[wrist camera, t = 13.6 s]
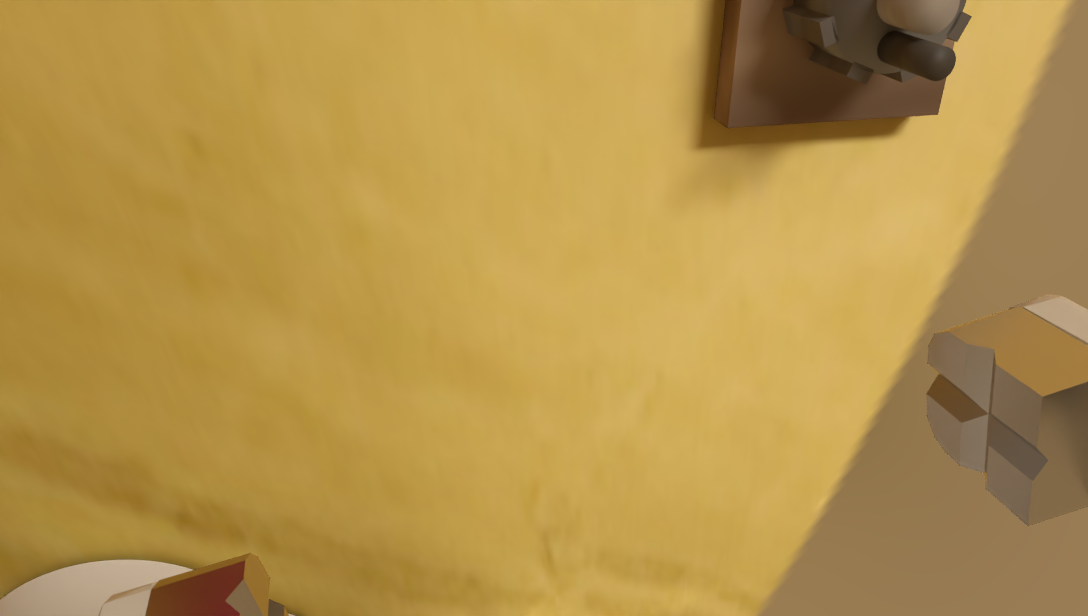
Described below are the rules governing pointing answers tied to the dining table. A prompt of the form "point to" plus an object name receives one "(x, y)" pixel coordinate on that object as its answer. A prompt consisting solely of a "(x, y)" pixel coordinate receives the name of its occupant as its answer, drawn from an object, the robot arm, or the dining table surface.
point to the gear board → (834, 59)
